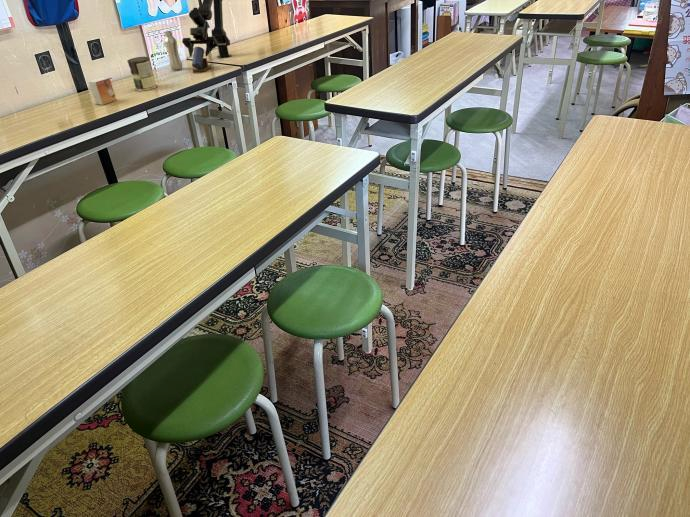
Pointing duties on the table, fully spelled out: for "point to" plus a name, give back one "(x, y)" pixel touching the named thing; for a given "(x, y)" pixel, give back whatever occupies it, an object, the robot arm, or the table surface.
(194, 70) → the stand
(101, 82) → the small box
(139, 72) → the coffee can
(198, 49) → the blue box
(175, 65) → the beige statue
